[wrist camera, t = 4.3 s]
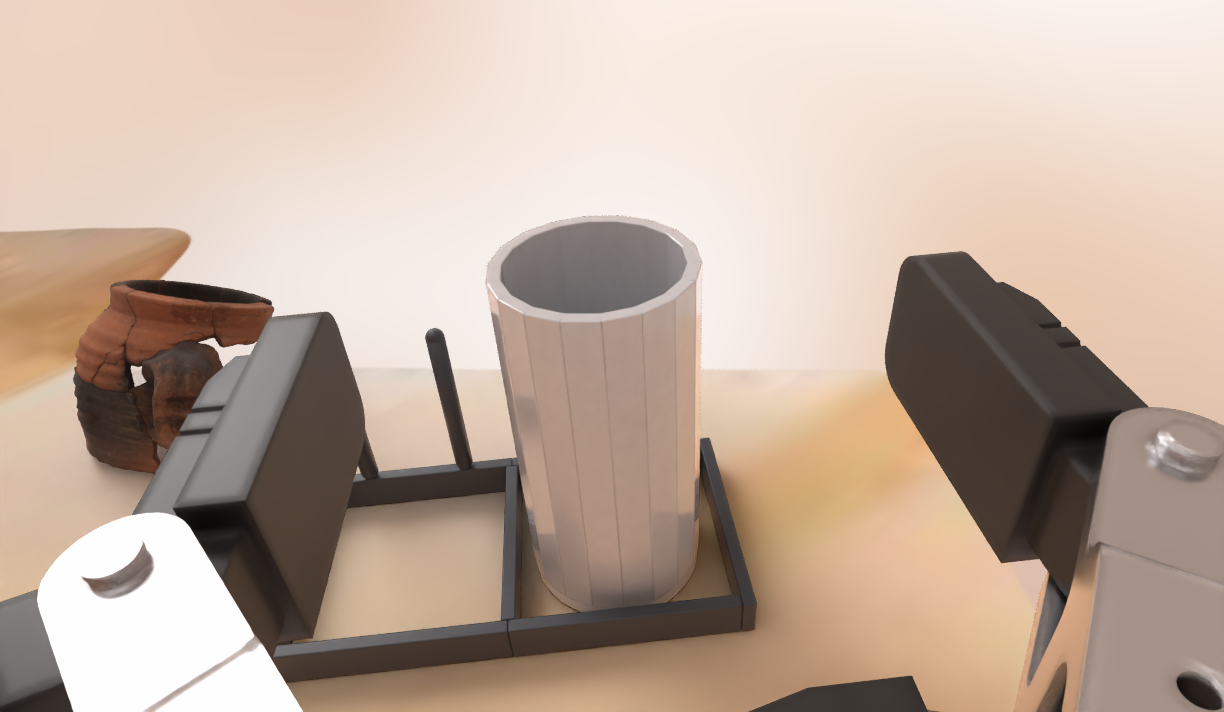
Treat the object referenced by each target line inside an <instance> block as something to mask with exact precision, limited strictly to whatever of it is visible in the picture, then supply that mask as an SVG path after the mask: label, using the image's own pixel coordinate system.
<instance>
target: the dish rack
mask: <svg viewBox="0 0 1224 712" xmlns="http://www.w3.org/2000/svg"><path fill="white" fill-rule="evenodd" d="M425 339H426V343H427V347H428V351H429V355H430V360H431V363H432V368H433V372H434V376H435V380H436V384H437V388H438V392H439V396H440V400H441V404H442V409H443V413H444V417H445V421H446V425H447V429H448V433H449V437H450V441H451V445H452V449H453V453H454V457H455V461H456V464H450V465H440V466H431V467H421V468H411V469H402V470H392V471H382V472H378V467H377V464H376V461H375V458H374V455H373V452H372V449H371V446H370V443H369V440H368V437H367V434H366V431H365V436H364V443H363V447H362V451H361V454H360V458H359V462H358V466H359V469H360V472H361V474H355V477H354V481H353V485H352V489H351V493H350V497H349V500H348V504H347V507H357V506H366V505H376V504H385V503H395V502H405V501H414V500H424V499H433V498H443V497H452V496H462V495H471V494H481V493H491V492H500V491H505V519H504V547H503V575H502V604H501V621H495V622H486V623H477V624H468V625H459V626H450V627H441V628H432V629H423V630H414V631H405V632H396V633H387V634H378V635H369V636H360V637H351V638H342V639H332V640H323V641H314V642H305V643H296V644H291V643H292V640H289V641H280V642H278V643H277V646H276V650H275V653H274V656H273V660H272V662H273V663H274V665H275V667H276V668H277V670H278V672H279V673H280V675H281V676H282V678H283V680H284V681H285V682H292V681H301V680H310V679H318V678H327V677H336V676H345V675H354V674H363V673H372V672H381V671H390V670H398V669H407V668H416V667H425V666H434V665H443V664H452V663H461V662H469V661H478V660H487V659H496V658H505V657H512V656H513V655H514V656H523V655H532V654H541V653H549V652H558V651H567V650H576V649H585V648H594V647H603V646H612V645H621V644H629V643H638V642H647V641H656V640H665V639H674V638H683V637H692V636H700V635H709V634H718V633H727V632H736V631H740V630H742V631H745V630H753V629H755V619H756V608H757V602H756V599H755V595H754V592H753V588H752V585H751V581H750V578H749V574H748V571H747V567H746V564H745V560H744V557H743V553H742V550H741V546H740V543H739V539H738V536H737V532H736V529H735V525H734V522H733V518H732V515H731V511H730V508H729V504H728V501H727V497H726V494H725V490H724V487H723V483H722V480H721V476H720V473H719V469H718V466H717V462H716V458H715V455H714V451H713V448H712V444H711V441H710V438H702V439H700V472H701V476H702V479H703V483H704V487H705V491H706V495H707V499H708V503H709V507H710V511H711V515H712V518H713V522H714V526H715V530H716V534H717V538H718V542H719V546H720V550H721V553H722V557H723V561H724V565H725V569H726V573H727V577H728V581H729V585H730V589H731V592H732V595H730V596H721V597H712V598H703V599H694V600H685V601H676V602H667V603H657V604H648V605H639V606H630V607H621V608H612V609H603V610H594V611H585V612H576V613H567V614H558V615H549V616H540V617H531V618H522V619H521V554H522V489H523V488H522V483H521V477H520V471H519V466H518V460H517V458H513V459H512V458H508V459H499V460H489V461H479V462H473V461H472V456H471V451H470V447H469V442H468V438H467V434H466V429H465V425H464V420H463V416H462V412H461V407H460V403H459V398H458V394H457V390H456V385H455V381H454V376H453V372H452V368H451V363H450V359H449V354H448V350H447V346H446V341H445V337H444V334H443V332H442V331H441V330H439V329H437V328H433V329H430V330H429V331H428V332H427V333H426V336H425Z"/></svg>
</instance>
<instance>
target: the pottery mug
mask: <svg viewBox="0 0 1224 712" xmlns="http://www.w3.org/2000/svg"><path fill="white" fill-rule="evenodd" d="M110 290H111V300H110V306H109V307H108V308H107V309H105V310H104V312H103V313H102V314H100V315H99V316H98V317H97V319H96V320H95V321H94V322H93V323H91V324H90V325H89V326H88V328H87V331H86V332H85V333H84V334H83V335H82V336H81V338H80V341H79V347H78V349H77V350H76V353H75V355H76V358H77V366H76V367H75V375H74V378H73V381H74V384H75V393H74V394H75V396H76V397H77V409H78V413H77V415H78V419H79V421H80V423H81V426H82V428H83V431H84V434H85V437H86V444H87V449H88V451H89V453H90V454H91V455H92V456H94V457H95V458H97V459H98V460H99V461H100V462H103V463H107V464H109V465H111V466H113V467H117V468H120V469H125V470H134V471H140V472H156V471H157V469H158V468H159V466H160V464H161V463H160V460H159V458H158V455H157V444H159V445H160V446H162V447H164V448H166V449H168V450H169V448H170V446H171V445H172V443H173V441H174V439H175V437H179V436H180V433H179V430H180V429H181V427H182V425H183V423H184V421H185V420H186V418H187V416H188V414H192V407H193V405H194V404H195V402H196V400H197V398H198V397H199V395H200V393H201V391H202V389H203V388H204V386H205V384H206V382H207V381H208V380H209V379H210V378H212V377H213V376H214V375H215V374H216V373H217V372H218V371H220V370H221V369H222V368H223V366H222V363H221V361H220V359H219V355H218V353H217V351H216V350H215V349H214V348H213V347H211V346H209V345H207V344H200V343H198V342H200V341H204V340H207V339H210V338H215V339H216V341H217V342H218V344H219V345H220V346H221V347H229V346H233V345H236V344H243V345H249V344H253V343H255V342H257V341H258V339H259V337H260V335H261V333H262V331H263V329H264V327H265V325H266V323H267V322H268V320H269V319H270V318H272V313H273V311H274V308H273V306H271V305H272V302H271V301H270V300H268V299H266V298H263V297H260V296H258V295H255V294H250V293H247V292H243V291H239V290H234V289H228V288H221V287H217V286H210V285H203V284H194V283H186V282H176V281H165V280H130V281H124V282H117V283H114V284H112V285H111V287H110ZM131 366H136V367H140V366H142V375H143V377H144V379H145V380H146V381H147V382H146V383H144V384H142V385H140V386H137V387H135V386H134V381H133V378H132V373H131Z"/></svg>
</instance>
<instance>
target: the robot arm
mask: <svg viewBox="0 0 1224 712" xmlns="http://www.w3.org/2000/svg"><path fill="white" fill-rule="evenodd" d="M885 364H886V371H887V376H888V379H889V382H890V385H891V387H892V389H893V391H894V392H895V394H896V396H897V397H898V399H899V400H900V402H901V404H902V405H903V407H904V408H905V410H906V412H907V413H908V415H909V416H910V418H911V420H912V421H913V423H914V424H915V426H916V428H917V429H918V431H919V432H920V434H921V436H922V437H923V439H924V440H925V442H926V444H927V445H928V447H929V448H930V450H931V452H932V453H933V455H934V456H935V458H936V460H937V461H938V463H939V464H940V466H941V468H942V469H943V471H944V472H945V474H946V476H947V477H948V479H949V480H950V482H951V484H952V485H953V487H954V488H955V490H956V492H957V493H958V495H959V496H960V498H961V500H962V501H963V503H964V504H965V506H966V508H967V509H968V511H969V512H970V514H971V516H972V517H973V519H974V520H975V522H976V524H977V525H978V527H979V528H980V530H981V532H982V533H983V535H984V536H985V538H986V540H987V541H988V543H989V544H990V546H991V548H992V549H993V551H994V552H995V554H996V556H997V557H998V559H999V560H1000V562H1001V563H1007V562H1016V561H1024V560H1033V559H1040V560H1041V561H1042V563H1043V565H1044V566H1045V568H1046V569H1047V570H1048V573H1047V575H1046V577H1045V580H1044V582H1043V584H1042V587H1041V590H1040V594H1039V599H1038V604H1037V608H1036V613H1035V617H1034V622H1033V626H1032V631H1031V636H1030V640H1029V645H1028V649H1027V654H1026V659H1025V663H1024V668H1023V672H1022V677H1021V681H1020V686H1019V691H1018V695H1017V700H1016V704H1015V708H1014V712H1224V426H1223V425H1221V424H1219V423H1217V422H1215V421H1212V420H1210V419H1207V418H1204V417H1202V416H1199V415H1196V414H1192V413H1189V412H1185V411H1180V410H1176V409H1169V408H1157V407H1148V406H1147V405H1146V404H1145V403H1144V402H1143V401H1142V400H1141V399H1140V398H1139V397H1138V396H1137V395H1136V394H1135V393H1134V392H1133V391H1132V390H1131V389H1130V388H1129V387H1127V386H1126V384H1124V383H1123V382H1122V381H1121V380H1120V379H1119V378H1118V377H1117V376H1116V375H1115V374H1114V373H1113V372H1112V371H1111V370H1110V369H1109V368H1108V367H1107V366H1106V365H1105V364H1104V363H1103V362H1102V361H1101V360H1100V359H1099V358H1098V357H1096V356H1095V355H1094V354H1093V353H1092V352H1091V351H1090V350H1089V349H1088V348H1087V347H1086V346H1081V345H1080V340H1079V339H1078V338H1077V337H1076V336H1075V335H1074V334H1073V333H1072V332H1071V331H1070V330H1069V329H1068V328H1067V327H1061V322H1060V321H1059V320H1058V319H1057V318H1056V317H1055V316H1054V315H1053V314H1052V313H1051V312H1050V311H1049V310H1048V309H1047V308H1046V307H1045V306H1044V305H1043V304H1042V303H1041V302H1040V301H1039V300H1037V299H1035V298H1033V297H1031V296H1029V295H1028V294H1025V293H1024V292H1021V291H1020V290H1018V289H1016V288H1014V287H1012V286H1010V285H1008V284H1006V283H1004V282H1000V283H996V282H995V281H994V280H993V279H992V278H991V277H990V276H989V275H988V273H986V271H985V270H984V269H983V268H982V267H981V266H980V265H979V264H978V263H977V262H976V261H975V260H974V259H973V258H972V257H971V256H970V255H969V254H967V253H965V252H962V251H959V252H948V253H939V254H928V255H918V256H910V257H908V258H906V259H905V260H904V262H903V264H902V265H901V268H900V272H899V277H898V281H897V287H896V292H895V298H894V303H893V309H892V314H891V320H890V325H889V331H888V336H887V342H886V348H885ZM179 433H180V436H179V437H175V439H174V441H173V443H172V445H171V446H170V448H169V450H168V452H167V453H166V455H165V457H164V459H163V461H162V462H161V464H160V466H159V468H158V469H157V471H156V473H155V475H154V477H153V478H152V480H151V482H150V484H149V485H148V487H147V489H146V491H145V493H144V494H143V496H142V498H141V500H140V501H139V503H138V505H137V507H136V509H135V510H134V512H133V514H132V516H129V517H125V518H122V519H119V520H116V521H113V522H111V523H109V524H106V525H104V526H102V527H100V528H98V529H96V530H94V531H93V532H91V533H89V534H87V535H86V536H84V537H83V538H81V539H80V540H78V541H77V542H76V543H74V544H73V545H72V546H71V547H69V548H68V549H67V550H66V551H65V552H64V553H63V554H62V555H61V556H60V557H59V558H58V559H57V560H56V561H55V562H54V563H53V565H52V566H51V567H50V568H49V570H48V571H47V573H46V574H45V576H44V578H43V580H42V582H41V585H40V587H39V589H37V590H34V591H31V592H29V593H26V594H23V595H20V596H17V597H14V598H11V599H8V600H5V601H2V602H0V712H303V711H302V709H301V708H300V706H299V704H298V703H297V701H296V700H295V698H294V696H293V695H292V693H291V691H290V690H289V688H288V686H287V685H286V683H285V681H284V680H283V678H282V676H281V675H280V673H279V672H278V670H277V668H276V667H275V665H274V663H273V662H272V660H273V656H274V653H275V650H276V646H277V643H278V642H280V641H289V640H298V639H307V638H313V634H314V630H315V627H316V623H317V619H318V615H319V611H320V607H321V604H322V600H323V596H324V592H325V588H326V585H327V581H328V577H329V573H330V569H331V565H332V562H333V558H334V554H335V550H336V546H337V542H338V539H339V535H340V531H341V527H342V523H343V519H344V516H345V512H346V508H347V504H348V500H349V497H350V493H351V489H352V485H353V481H354V477H355V474H356V470H357V466H358V462H359V458H360V454H361V451H362V447H363V443H364V436H365V417H364V409H363V404H362V400H361V396H360V393H359V390H358V387H357V384H356V381H355V378H354V375H353V371H352V368H351V365H350V362H349V359H348V356H347V353H346V351H345V347H344V344H343V341H342V338H341V335H340V332H339V328H338V326H337V323H336V321H335V319H334V318H333V316H332V315H331V314H330V313H329V312H318V313H308V314H297V315H287V316H277V317H272V318H270V319H269V320H268V322H267V323H266V325H265V327H264V329H263V331H262V333H261V335H260V337H259V339H258V341H257V343H256V345H255V347H254V349H253V351H252V353H251V355H246V356H237V357H235V358H233V359H232V360H231V361H230V362H229V363H228V364H227V365H225V366H224V367H223V368H222V369H221V370H220V371H218V372H217V373H216V374H215V375H214V376H213V377H212V378H210V379H209V380H208V381H207V382H206V384H205V386H204V388H203V389H202V391H201V393H200V395H199V397H198V398H197V400H196V402H195V404H194V405H193V407H192V414H188V416H187V418H186V420H185V421H184V423H183V425H182V427H181V429H180V430H179ZM749 712H938V711H931V710H927V709H926V706H925V704H924V702H923V700H922V697H921V695H920V693H919V691H918V688H917V686H916V684H915V682H914V679H913V677H912V676H905V677H896V678H888V679H879V680H871V681H862V682H854V683H845V684H836V685H828V686H819V687H811V688H806V689H804V690H801V691H799V692H796V693H794V694H792V695H789V696H787V697H784V698H782V699H779V700H777V701H774V702H772V703H769V704H767V705H764V706H762V707H759V708H757V709H754V710H752V711H749Z"/></svg>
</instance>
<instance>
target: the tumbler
mask: <svg viewBox="0 0 1224 712" xmlns="http://www.w3.org/2000/svg"><path fill="white" fill-rule="evenodd" d="M486 288H487V293H488V299H489V304H490V310H491V315H492V321H493V327H494V332H495V338H496V343H497V349H498V355H499V360H500V366H501V371H502V377H503V382H504V388H505V394H506V399H507V405H508V410H509V416H510V421H511V427H512V433H513V438H514V444H515V449H516V455H517V460H518V466H519V471H520V477H521V483H522V488H523V494H524V499H525V505H526V510H527V516H528V522H529V527H530V533H531V538H532V544H533V549H534V555H535V559H536V561H537V566H538V569H539V573H540V575H541V578H542V580H543V582H544V583H545V585H546V586H547V588H548V589H549V590H550V591H551V592H552V594H553V595H554V596H555V597H557V598H558V599H559V600H560V601H561V602H563V603H564V604H566V605H568V606H569V607H571V608H573V609H575V610H578V611H580V612H585V611H594V610H603V609H612V608H621V607H630V606H639V605H648V604H657V603H666V602H668V601H669V600H670V599H671V598H673V597H674V596H675V595H676V594H677V593H678V592H679V591H680V590H681V589H682V588H683V587H684V586H685V584H686V583H687V582H688V580H689V578H690V576H691V575H692V573H693V570H694V567H695V565H696V560H697V547H698V542H699V476H700V400H701V321H702V320H701V319H702V317H701V316H702V260H701V258H700V255H699V252H698V250H697V247H696V245H695V244H694V243H693V242H692V241H691V240H689V239H688V238H687V237H685V236H684V235H683V234H682V233H681V232H679V231H677V230H676V229H673V228H671V227H668V226H665V225H663V224H660V223H658V222H655V221H650V220H647V219H640V218H634V217H627V216H587V217H586V216H584V217H578V218H572V219H566V220H560V221H555V222H551V223H548V224H546V225H543V226H540V227H537V228H534V229H531V230H528V231H526V232H524V233H522V234H520V235H519V236H517V237H515V238H514V239H512V240H511V241H509V242H507V243H506V244H504V245H503V246H502V247H500V249H499V250H498V251H497V252H496V254H495V255H494V256H493V257H492V259H491V260H490V262H489V263H488V265H487V274H486Z"/></svg>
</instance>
